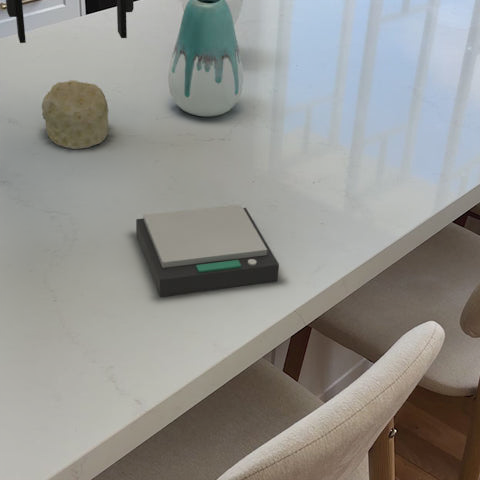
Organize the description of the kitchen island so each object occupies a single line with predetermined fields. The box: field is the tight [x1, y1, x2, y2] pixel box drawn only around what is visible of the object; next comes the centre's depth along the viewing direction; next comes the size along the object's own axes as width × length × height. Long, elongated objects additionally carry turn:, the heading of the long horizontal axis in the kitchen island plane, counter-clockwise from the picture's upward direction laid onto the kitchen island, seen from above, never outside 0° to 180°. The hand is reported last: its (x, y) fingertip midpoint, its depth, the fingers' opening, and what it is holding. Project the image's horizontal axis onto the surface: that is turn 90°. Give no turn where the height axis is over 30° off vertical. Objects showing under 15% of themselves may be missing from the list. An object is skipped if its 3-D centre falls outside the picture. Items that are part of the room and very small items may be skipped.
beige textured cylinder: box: [41, 79, 110, 150], centre depth 128 cm, size 9×10×10 cm
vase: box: [167, 0, 244, 117], centre depth 136 cm, size 12×12×18 cm
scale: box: [135, 204, 280, 298], centre depth 105 cm, size 14×13×3 cm
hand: (72, 37), depth 122 cm, fingers open, 13 cm apart
